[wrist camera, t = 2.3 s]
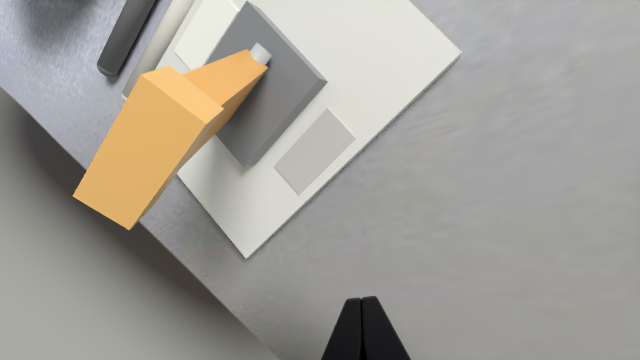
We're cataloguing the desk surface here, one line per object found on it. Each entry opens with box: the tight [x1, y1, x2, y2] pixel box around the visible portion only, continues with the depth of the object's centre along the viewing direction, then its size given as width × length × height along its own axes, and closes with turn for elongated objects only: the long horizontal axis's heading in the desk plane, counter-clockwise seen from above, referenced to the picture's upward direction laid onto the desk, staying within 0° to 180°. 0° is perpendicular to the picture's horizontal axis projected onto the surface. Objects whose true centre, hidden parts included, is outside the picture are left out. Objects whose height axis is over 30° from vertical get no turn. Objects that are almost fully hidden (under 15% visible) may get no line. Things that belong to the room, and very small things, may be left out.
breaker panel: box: [155, 0, 462, 259], centre depth 19 cm, size 14×18×2 cm
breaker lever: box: [73, 42, 272, 230], centre depth 13 cm, size 2×5×10 cm, turn 135°
